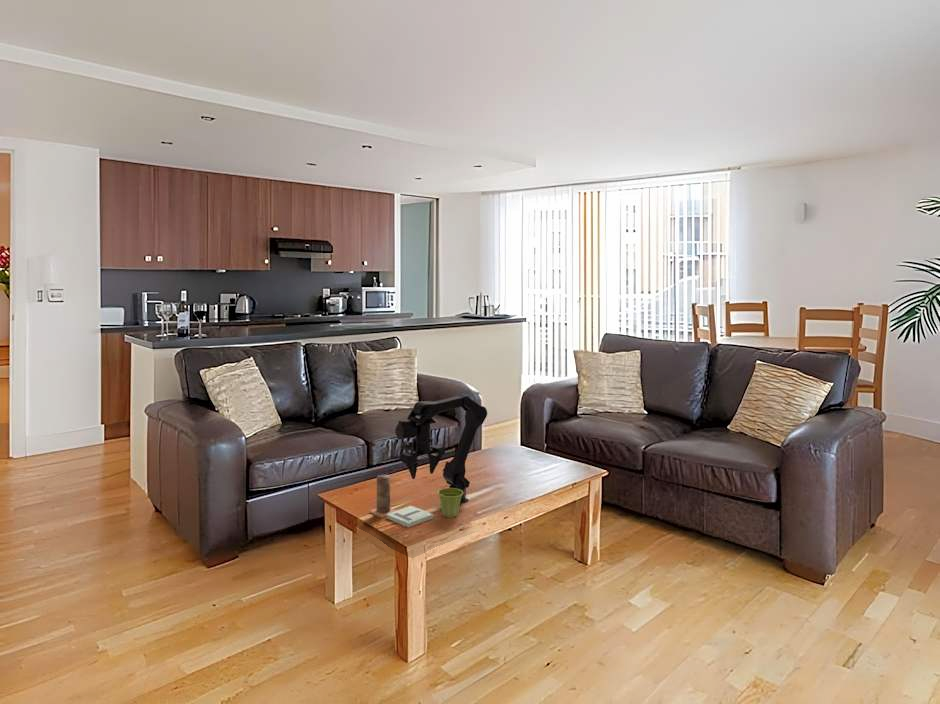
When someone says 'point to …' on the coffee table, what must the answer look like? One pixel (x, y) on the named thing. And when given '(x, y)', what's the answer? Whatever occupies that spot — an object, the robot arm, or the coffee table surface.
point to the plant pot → (450, 501)
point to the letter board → (409, 516)
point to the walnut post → (383, 493)
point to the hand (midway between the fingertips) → (422, 476)
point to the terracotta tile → (381, 513)
